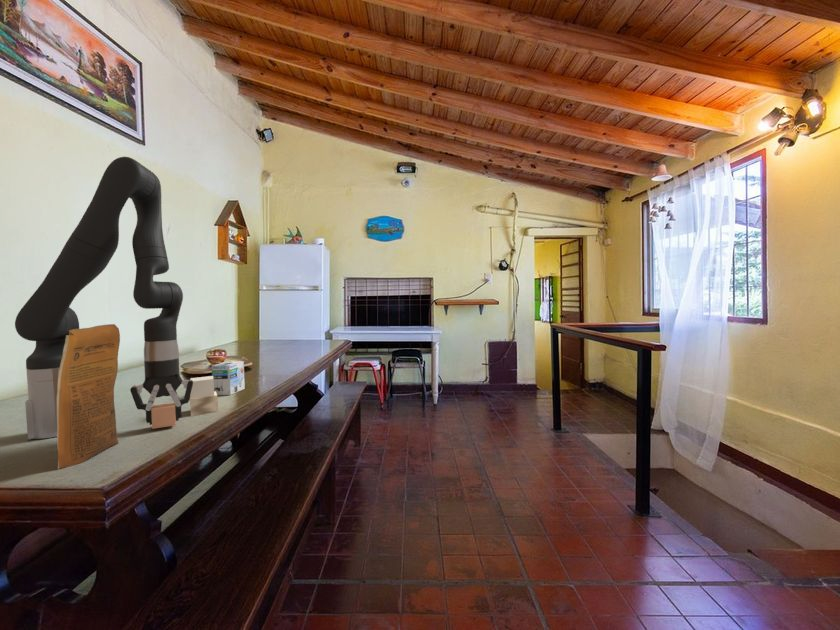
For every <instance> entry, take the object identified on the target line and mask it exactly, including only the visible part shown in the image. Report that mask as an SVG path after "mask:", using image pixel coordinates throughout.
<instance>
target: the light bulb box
mask: <svg viewBox="0 0 840 630" xmlns="http://www.w3.org/2000/svg"><path fill="white" fill-rule="evenodd" d="M244 363H245V362H244V360H226V361H224V362H219V363H217V364H214V365H211V376H213V379H214V391H216V393H217V396H231V395H234V394H236V393H238V392H240V391H243V390H245V388H246V387H245V386H246V383H245V364H244Z"/></svg>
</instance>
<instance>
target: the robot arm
mask: <svg viewBox="0 0 840 630" xmlns="http://www.w3.org/2000/svg"><path fill="white" fill-rule="evenodd" d="M129 199H130V200H132V203H133V206H134V208H135V211H136V220H137V221H136V225H135V228H134V231H133V235H132V241H131V243H132V250H133V257H134V261H135V265H136V266H135V267H136V268H135V269H136V270H135V279H134V286H133V293H132V294H133V295H132V296H133V299H134V302H135V303H136V305H137V306H138V307H140V308H142V309H146V310H148V309H153V310H154V309H155V310H156V309H161V311H160V314H159V315H158V316H155V317H151V318H148V319H146V320H145V321H144V322H143V323H144V324H143V336H144V338H143V340H144V344H143V364H144V381H143V383H141V384H139V385H133V386H131V387H130V389H129V390H130V393H131V397H132V398H133V402H134V405H135V407H136V409H137V410H143V411H145V421H146V423H147V424H149V425H151V426H152V413H151V409H152V406H153V405H154V402H155V400H156V399H157V398H161V397H170V398H171V399H172V402H174V403H175V405H176V406H175V417H176V422H177V421H179V419H181V418H182V415H183V413H182V406H183V405H185V404H188V403H190V395H191V390H192V386H193V380H190V379H182V377H181V374H180V352H179V345H178V338H177V337H178V335H177V333H178V332H177V325H178V324H177V323H178V320H179V316H180V311H181V307H182V305H183V300H184V293H183V290H182V288H181V286H180V285H179V284H178V283H176V282H172V281H156V280H154V276H157V275H163V274H165V273H167V272H168V271H169V269H170V265H169V258H168V255H167V250H166V245H165V240H164V232H163V217H162V215H163V213H162V185H161V182H160V179H159V177H158V176H157V175H156V174H155V173H154V172H153V171H152V170H150V169H148V168H147V167H146V166H144V165H143V164H142V163H140V162H138V161H137V160H136V159H134V158H132V157H130V156H120V157H117V158H115V159H114V160H112V161H111V162H110V163H109V165H108V166H107V167H106V169H105V170H104V172H103V174H102V177H101V179H100V181H99V183H98V186H97V188H96V190H95V193H94V195H93V197H92V199H91V201H90V203H89V205H88V207H87V208H86V210H85V212H84V214H83V215H82V217H81V218H80V220H79V222H78V224H77V225H76V227H75V228H74V230H73V232H72V233H71V234H70V236H69V238H68V239H67V240H66V242H65V244H64V246H63V247H62V249H61V250H60V253H59V255H58V256H57V258H56V260H55V261H54V262H53V264H52V266H51V267H50V269H49V270H48V273H47V274H46V276H45V278H44V279H43V281H41V283H40V285H39V286H38V287H37V289H36V290H35V291H34V292H33V294H31V296H30V297H29V299H28V300H27V301H26V302H25V303H24V305H23V306H22V307H21V308H20V310H19V311H18V313H17V315H16V318H15V322H14V328H15V331H16V333H17V334H18V336H20V337H21V338H22V339H24V340H26V341H30V342H31V341H32V342H35V348H34V350H33V352H31V354H30V355H28V357H27V358H26V360H25V369H26V370H25V371H26V382H27V383H26V384H27V396H28V398H27V399H26V401H25V414H26V415H25V417H26V432H27V440H34V439H35V440H36V439H38V440H39V439H50V438H55V437H56V438H57V385H58V376H59V370H60V364H61V360H62V356H63V349H64V345H65V339H66V335H69V330H73V329H80V321H79V318H78V315H77V312H75V310H74V309H72V308H71V304H72V302H73V301H74V300H75V298H76V297H77V296H78V294H80V292H81V291H82V290H83V289H84V288H85V287H87V286H88V285H89V284H90V283H91V282H92V281H94V280H95V279H96V278H97V277H98V276H99V275H100V274H102V272H103V271H104V270H105V269H106V268H107V266H108V265H109V263H110V261H111V259H112V258H113V256H114V254H115V253H116V251H117V249H118V246H119V241H120V240H119V239H120V216H121V213H122V210H123V208H124V206H125V205H126V203H127V201H128V200H129ZM181 385H183V388H184V389H185V393H184V396H183V398H180V396H179V395H178V394H179V393H178V392H177V390H178V389H179V387H180V386H181ZM143 389H144V390H145V391H147V392H148V393H149V394H150V396H149V398H148V401H147V403H144V401H143V398H142V397H141V393H142V392H143Z"/></svg>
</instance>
